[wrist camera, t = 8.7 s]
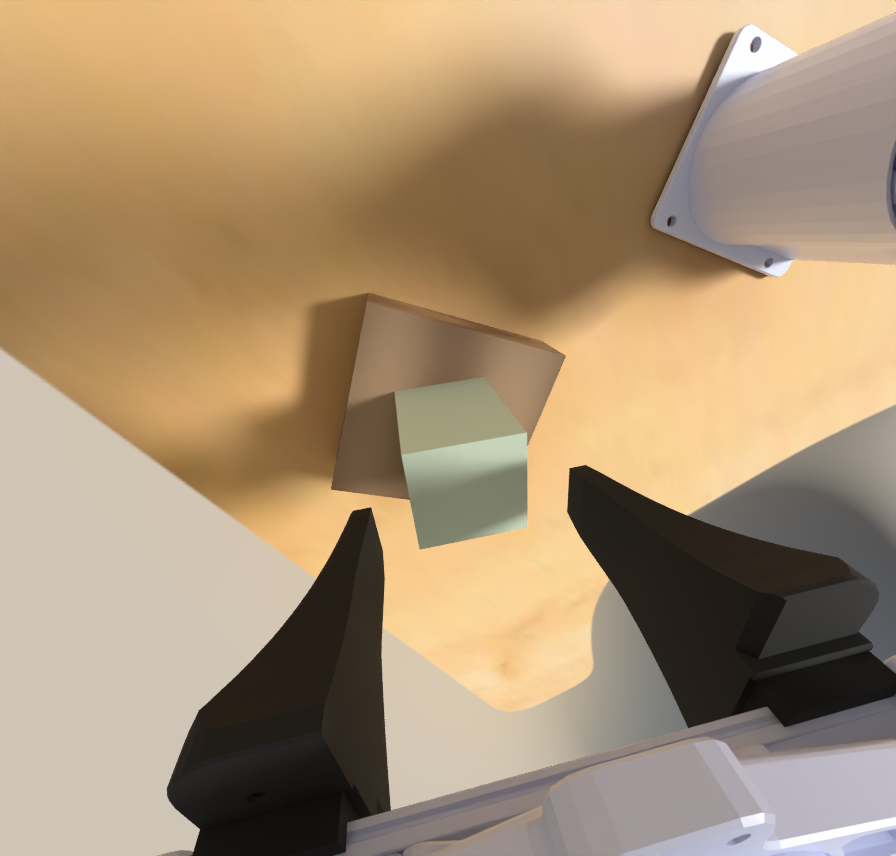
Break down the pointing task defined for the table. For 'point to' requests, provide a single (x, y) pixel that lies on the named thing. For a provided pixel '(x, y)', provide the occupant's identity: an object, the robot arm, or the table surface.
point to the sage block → (462, 461)
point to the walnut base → (428, 383)
